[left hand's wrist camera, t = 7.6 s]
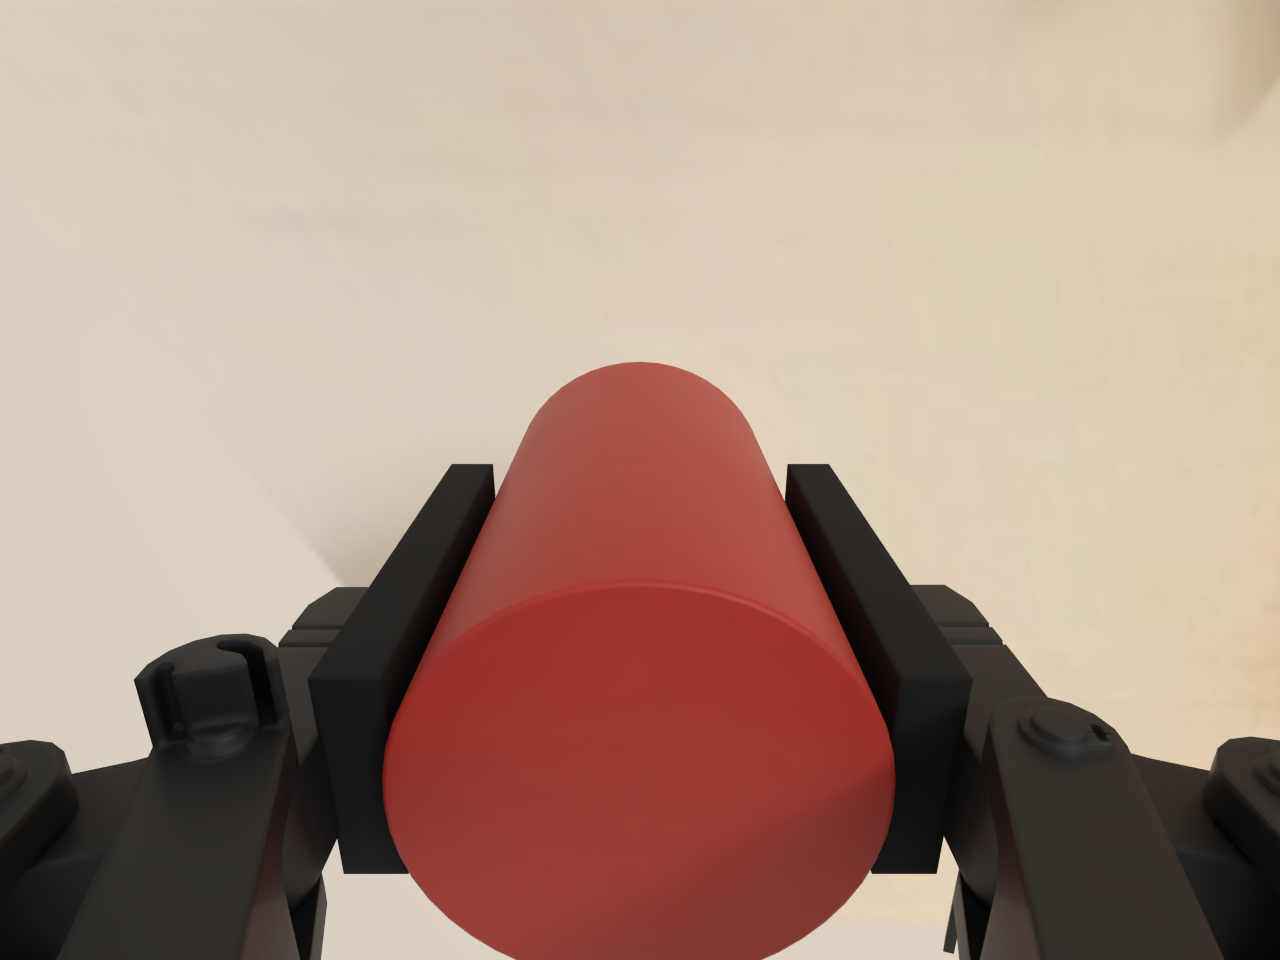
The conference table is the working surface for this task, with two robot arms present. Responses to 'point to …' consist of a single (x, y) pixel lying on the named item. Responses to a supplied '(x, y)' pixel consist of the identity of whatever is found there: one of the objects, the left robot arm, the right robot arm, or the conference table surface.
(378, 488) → the conference table surface
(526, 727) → the canister
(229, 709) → the left robot arm
